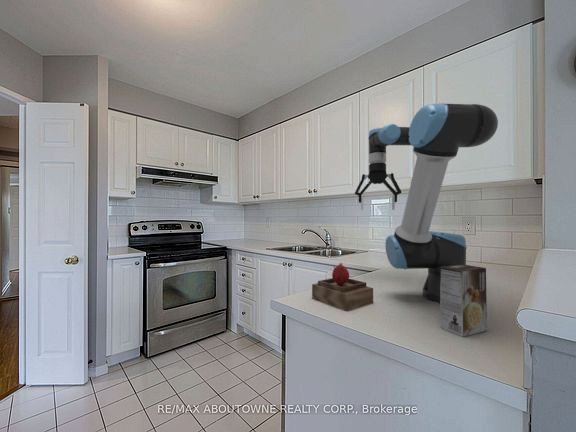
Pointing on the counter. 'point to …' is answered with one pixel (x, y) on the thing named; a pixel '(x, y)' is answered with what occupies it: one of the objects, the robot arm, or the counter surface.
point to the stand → (343, 293)
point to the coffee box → (463, 299)
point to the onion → (340, 274)
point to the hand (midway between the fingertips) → (377, 209)
